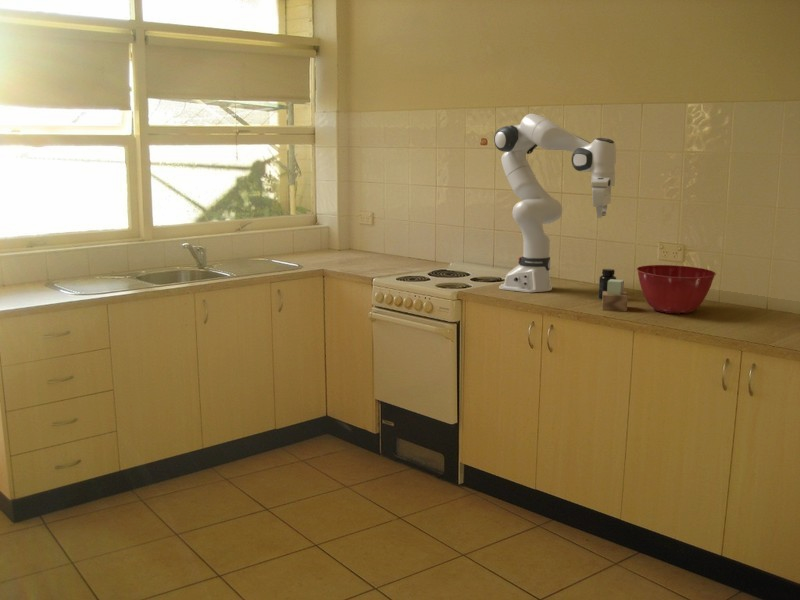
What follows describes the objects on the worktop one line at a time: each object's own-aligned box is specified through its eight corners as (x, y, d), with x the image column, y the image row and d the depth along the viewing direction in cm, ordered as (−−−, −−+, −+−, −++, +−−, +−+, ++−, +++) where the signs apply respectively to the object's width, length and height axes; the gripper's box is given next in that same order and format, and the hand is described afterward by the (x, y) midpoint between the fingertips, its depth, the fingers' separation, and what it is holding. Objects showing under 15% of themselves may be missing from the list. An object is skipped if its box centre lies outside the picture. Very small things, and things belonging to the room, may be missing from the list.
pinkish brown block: (602, 310, 312) (603, 295, 311) (601, 306, 321) (602, 291, 320) (626, 311, 311) (627, 296, 309) (625, 307, 319) (626, 291, 318)
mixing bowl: (712, 305, 321) (715, 266, 318) (713, 320, 294) (716, 278, 291) (637, 300, 330) (639, 262, 327) (631, 315, 304) (634, 273, 301)
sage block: (607, 294, 314) (607, 281, 313) (610, 291, 318) (610, 279, 317) (620, 295, 312) (620, 282, 311) (623, 292, 316) (624, 280, 315)
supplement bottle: (616, 300, 331) (617, 271, 329) (598, 299, 333) (600, 270, 330) (615, 297, 338) (616, 268, 336) (598, 296, 339) (599, 267, 337)
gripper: (599, 179, 327) (597, 214, 330) (590, 182, 309) (588, 218, 312) (615, 179, 325) (613, 214, 328) (607, 182, 306) (605, 219, 309)
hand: (601, 216), depth 319 cm, fingers open, 8 cm apart
